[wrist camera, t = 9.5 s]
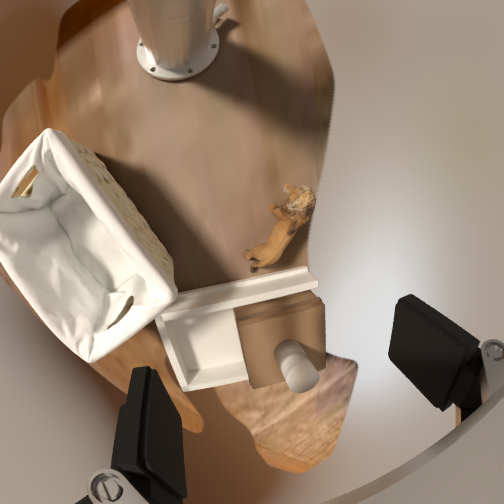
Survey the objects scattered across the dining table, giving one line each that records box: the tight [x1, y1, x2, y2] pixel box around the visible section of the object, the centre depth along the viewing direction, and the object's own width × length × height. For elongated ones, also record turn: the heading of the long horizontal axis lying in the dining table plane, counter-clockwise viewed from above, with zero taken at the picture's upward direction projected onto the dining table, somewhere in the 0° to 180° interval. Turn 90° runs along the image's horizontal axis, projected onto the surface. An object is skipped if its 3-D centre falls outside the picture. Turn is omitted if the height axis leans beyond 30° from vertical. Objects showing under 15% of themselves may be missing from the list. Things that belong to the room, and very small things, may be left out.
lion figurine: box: [243, 184, 316, 273], centre depth 37 cm, size 15×5×9 cm, turn 157°
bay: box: [155, 266, 318, 392], centre depth 43 cm, size 25×17×5 cm
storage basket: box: [0, 128, 178, 363], centre depth 29 cm, size 24×16×15 cm
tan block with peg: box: [233, 290, 326, 393], centre depth 37 cm, size 12×12×15 cm
